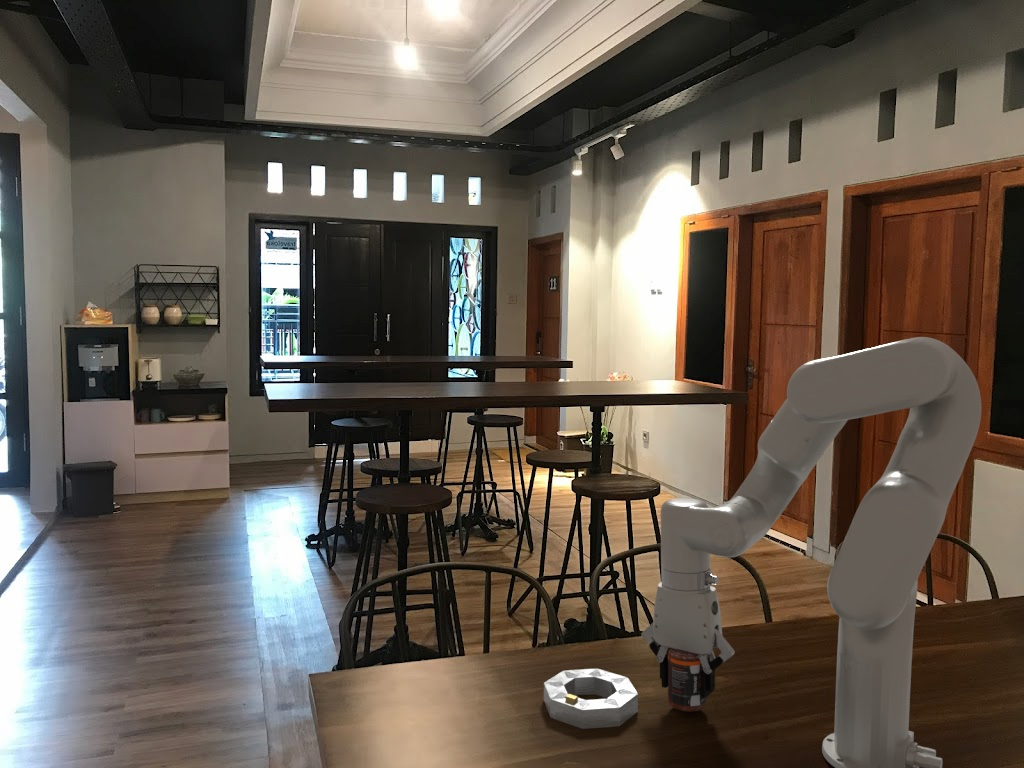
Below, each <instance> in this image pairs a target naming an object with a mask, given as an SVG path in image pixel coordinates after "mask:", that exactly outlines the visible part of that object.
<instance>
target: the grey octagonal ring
mask: <svg viewBox="0 0 1024 768" xmlns="http://www.w3.org/2000/svg"><path fill="white" fill-rule="evenodd" d="M585 695H587V696H589V695H594V696H595V695H596V696H599V697H602V698H598V699H584V698H580V697H579V696H585ZM543 701H544V704H545V707H546V710H547V712H548V714H549V717H550V719H554V720H556V721H559V722H562V723H565V724H567V725H571V726H573V727H576V728H579V729H582V730H585V729H586V730H587V729H597V728H598V729H600V728H615V727H620V726H622V725H623V724H624V723H626V722H627V721H628V720H629V719H630V718H632V717H633V716H635V715H636V714H637V713H638V711H639V710H638V709H639V708H638V707H639V706H638V705H639V693H638V692H637V690H636V689H635V687H634V685H633V684H632V682H631V680H630V679H629V678H628V677H627V676H623V675H620V674H616V673H613V672H610V671H607V670H604V669H600V668H584V669H568V670H567V669H566V670H562V671H561V672H559V673H558V674H556V675H554V676H553V677H551V678H550V679H548V680H546V681H545V682H543Z"/></svg>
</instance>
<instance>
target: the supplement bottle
mask: <svg viewBox="0 0 1024 768" xmlns="http://www.w3.org/2000/svg"><path fill="white" fill-rule="evenodd" d="M701 672H703V667H702V664H701V661H700V659H699V656H698V654H693V653H689V652H687V651H683V650H679V649H672V648H669V650H668V687H667V697H668V703H669V705H670V706H671V707H673V708H674V709H676V710H678V711H682V712H693V713H694V712H698V711H701V710H703V709H704V708H705V707H706V705H707V697H706V698H702V697H701V687H700V674H701Z"/></svg>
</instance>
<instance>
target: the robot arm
mask: <svg viewBox="0 0 1024 768" xmlns="http://www.w3.org/2000/svg"><path fill="white" fill-rule="evenodd" d="M786 397H787V398H786V399H785V400H784V402H783V403H782V404H781V406H780V407H779V409H778V410H777V412H776V413H775V415H774V416H773V418H772V419H771V421H770V422H769V423H768V425H767V426H766V428H765V429H764V431H763V432H762V434H761V435H760V437H759V439H758V442H757V451H758V452H757V456H756V457H757V458H756V460H755V462H754V465H753V466H752V468H751V470H750V471H749V473H748V474H747V476H746V478H745V479H744V480H743V482H742V483H741V484H740V486H739V487H738V489H737V490H736V492H735V493H734V494H733V496H732V497H731V498H730V500H728V501H725V502H724V503H723V504H720V505H717V506H714V507H709V505H708V504H707V503H706V502H705V501H703V500H701V499H697V498H690V497H689V498H688V497H679V498H676V497H675V498H670V499H668V500H666V501H664V502H663V503H662V504H661V507H660V559H661V561H660V565H661V567H660V568H661V569H660V570H661V571H660V572H661V581H660V582H659V583H658V586H657V589H656V593H655V600H654V608H653V619H652V620H653V622H652V623H651V624H650V625H648V627H646V629H644V630H643V631H642V632H641V637H642V638H643V640H644V641H645V642H646V644H647V645H648V646H649V649H650V650H651V651H652V652H653V654H654V655H655V656H656V658H655V659H656V661H657V662H658V663H659V679H660V680H661V688H664V689H666V688H668V650H669V648H672V649H679V650H683V651H687V652H689V653H693V654H698V656H699V659H700V661H701V664H702V667H703V672H701V674H700V687H701V697H702V698H706V699H707V697H709V696H710V695H711V694H712V693H713V692H714V691H715V689H716V669H717V668H718V667H720V666H721V665H722V664H723V663H725V662H726V661H727V660H729V659H730V658H732V657H733V656H734V655H735V650H734V648H733V647H732V645H731V644H730V643H729V642H728V640H726V638H725V637H724V636H723V628H722V627H723V626H722V616H721V607H720V601H719V597H718V591H717V589H716V587H714V586H712V585H718V584H719V576H718V575H715V574H713V573H712V568H711V555H715V556H718V557H722V558H736V557H738V556H741V555H742V554H744V553H745V552H746V551H748V550H749V549H751V547H753V546H754V545H755V544H756V543H757V542H759V541H761V540H762V539H763V538H764V537H765V536H766V534H767V533H768V532H769V531H770V530H771V528H772V527H773V526H774V524H775V523H776V521H777V520H778V519H779V518H780V516H781V515H782V513H783V512H784V511H785V510H786V508H787V506H788V505H789V503H790V502H791V501H792V499H793V498H794V496H795V495H796V493H797V492H798V490H799V488H800V487H801V486H802V484H803V483H804V482H805V481H806V480H807V479H808V476H809V475H810V473H811V472H812V470H813V469H814V467H815V466H816V465H817V463H818V462H819V460H820V459H821V458H822V456H823V455H824V453H825V452H826V451H827V449H828V448H829V447H830V445H831V443H832V442H833V441H834V439H835V438H836V437H837V435H838V434H839V432H841V430H842V429H843V427H844V426H845V425H846V424H847V422H848V421H849V420H853V419H860V418H865V417H870V416H876V415H880V414H885V413H889V412H895V411H900V410H905V409H909V414H908V417H907V419H906V422H905V424H904V427H903V429H902V430H901V433H900V435H899V437H898V441H897V443H896V446H895V448H894V450H893V453H892V455H891V457H890V459H889V461H888V464H887V466H886V467H885V470H884V472H883V474H882V475H881V477H880V478H879V479H878V480H877V482H876V483H875V484H874V485H873V486H872V487H871V488H870V489H868V491H867V492H866V494H864V496H863V498H862V499H861V501H860V503H859V505H858V507H857V509H856V512H855V513H854V516H853V519H852V521H851V522H850V523H851V524H850V525H849V528H848V529H847V532H846V534H845V537H844V538H843V539H844V540H843V542H842V543H841V547H840V548H839V551H838V554H837V556H836V558H835V560H834V562H833V566H832V567H831V570H830V573H829V576H828V579H827V584H826V586H827V588H826V592H827V596H828V599H829V603H830V605H831V608H832V609H833V611H834V613H836V615H837V616H838V617H839V620H838V633H837V637H838V638H837V649H836V650H837V651H836V652H837V653H836V654H837V655H836V678H835V679H836V680H835V703H834V705H835V706H834V707H835V708H834V731H833V733H829V734H828V735H827V736H826V737H825V738H824V739H823V741H822V745H821V751H822V754H823V755H822V756H823V757H824V759H825V760H826V761H827V762H828V763H829V765H831V766H832V767H834V768H943V763H944V762H943V758H942V757H938V756H936V755H937V750H936V749H934V748H930V747H927V746H921V745H918V742H915V741H914V739H915V735H914V734H915V732H914V731H911V730H909V725H910V724H909V723H910V722H909V721H910V706H911V705H910V698H911V678H912V661H913V646H914V645H913V643H914V628H915V627H914V626H915V615H916V606H917V598H918V597H917V596H918V585H919V584H918V580H919V579H918V578H919V577H920V575H921V573H922V570H923V567H924V565H925V564H926V561H927V560H928V557H929V555H930V553H931V550H932V548H933V547H934V544H935V542H936V540H937V537H938V536H939V533H940V531H941V529H942V528H943V525H944V524H945V523H944V522H945V519H946V515H947V510H948V507H949V504H950V501H951V499H952V496H953V494H954V492H955V489H956V487H957V485H958V482H959V480H960V478H961V476H962V473H963V470H964V469H965V466H966V463H967V460H968V458H969V456H970V454H971V451H972V448H973V446H974V444H975V441H976V438H977V434H978V432H979V428H980V424H981V418H982V397H981V392H980V387H979V384H978V381H977V379H976V377H975V375H974V373H973V371H972V369H971V368H970V366H968V364H967V363H966V361H965V360H964V359H963V358H962V356H960V355H959V354H958V353H957V352H956V351H955V350H954V349H953V348H951V346H949V345H948V344H946V343H944V342H942V341H941V340H939V339H936V338H932V337H926V336H918V337H917V336H915V337H911V338H906V339H902V340H897V341H894V342H890V343H885V344H882V345H878V346H874V347H871V348H865V349H862V350H857V351H853V352H849V353H845V354H841V355H836V356H832V357H831V356H830V357H824V358H818V359H813V360H810V361H807V362H806V363H803V364H802V365H801V366H799V367H798V368H796V370H795V371H794V372H793V373H792V375H791V376H790V378H789V380H788V383H787V388H786ZM716 648H717V649H719V650H720V654H719V655H718V656H715V653H714V650H713V649H716Z"/></svg>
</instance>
